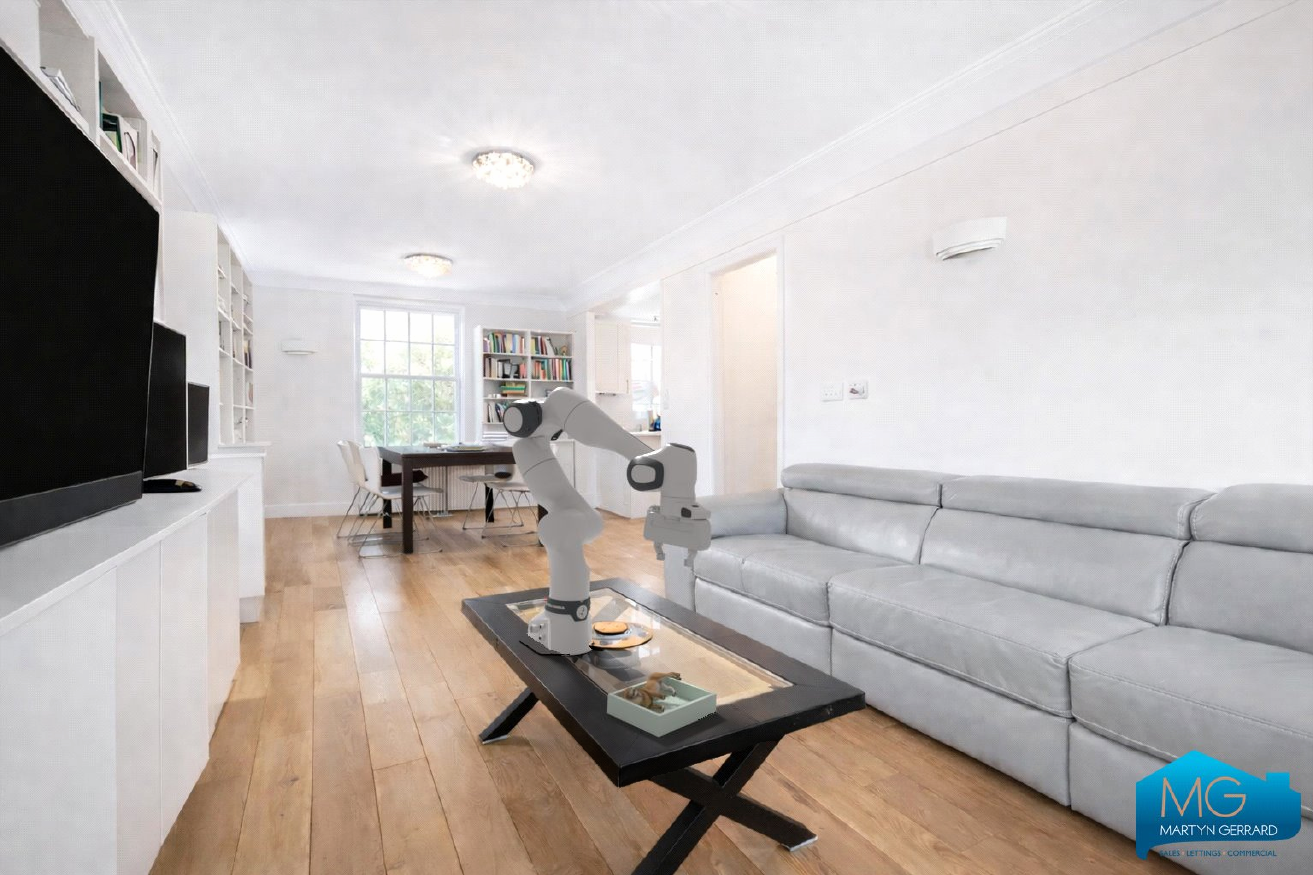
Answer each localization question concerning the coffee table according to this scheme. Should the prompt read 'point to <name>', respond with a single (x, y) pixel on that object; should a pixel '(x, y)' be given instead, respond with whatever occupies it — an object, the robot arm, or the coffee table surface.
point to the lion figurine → (650, 691)
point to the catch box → (677, 710)
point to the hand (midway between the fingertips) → (674, 563)
